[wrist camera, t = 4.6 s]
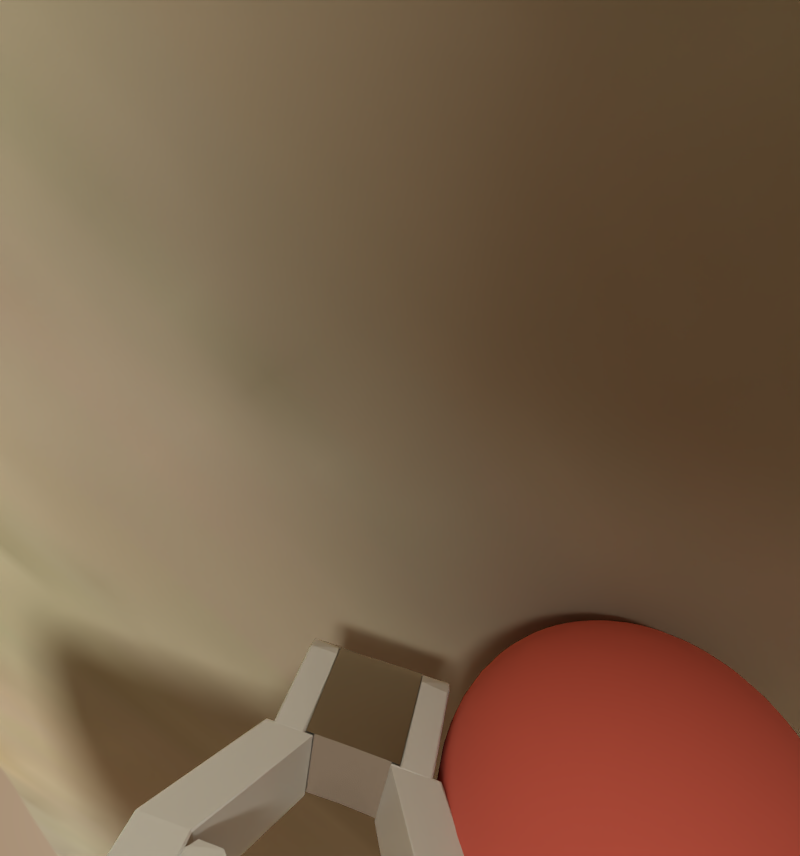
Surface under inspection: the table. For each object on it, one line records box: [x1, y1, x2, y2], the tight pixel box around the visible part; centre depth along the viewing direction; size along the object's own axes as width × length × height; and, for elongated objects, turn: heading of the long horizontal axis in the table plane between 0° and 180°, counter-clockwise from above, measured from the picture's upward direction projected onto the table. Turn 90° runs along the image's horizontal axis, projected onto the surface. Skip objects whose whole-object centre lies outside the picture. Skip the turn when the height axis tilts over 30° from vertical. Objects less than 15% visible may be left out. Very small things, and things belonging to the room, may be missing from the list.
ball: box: [437, 620, 800, 856], centre depth 8 cm, size 6×6×6 cm
